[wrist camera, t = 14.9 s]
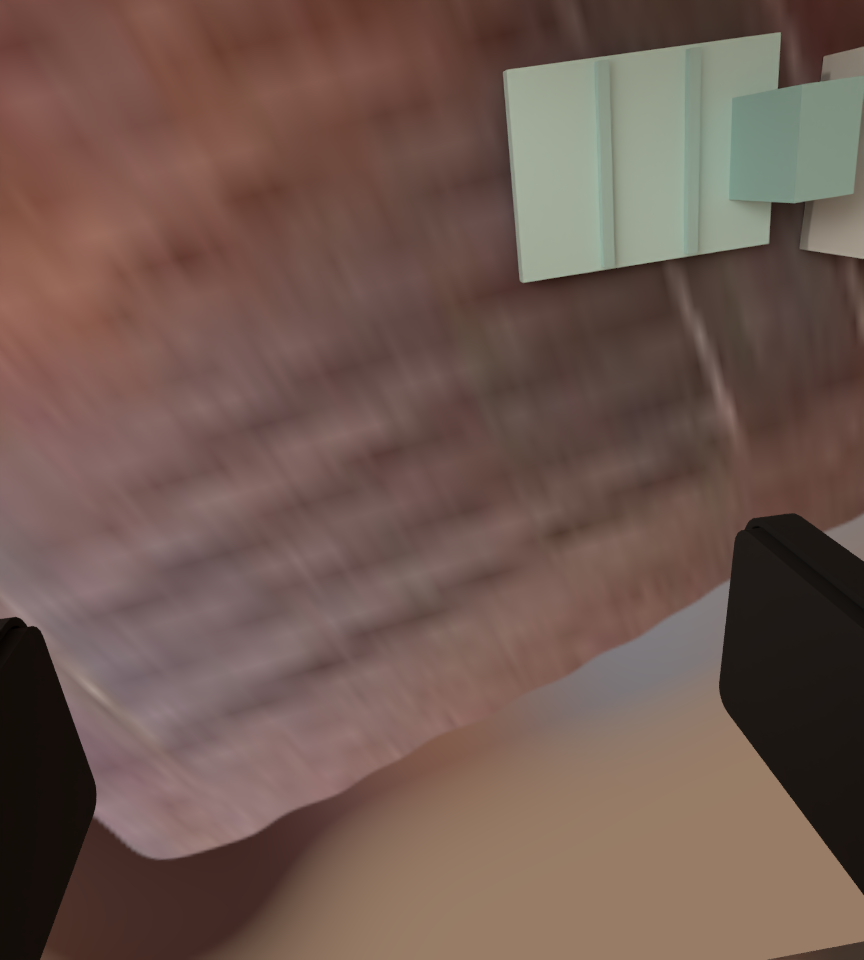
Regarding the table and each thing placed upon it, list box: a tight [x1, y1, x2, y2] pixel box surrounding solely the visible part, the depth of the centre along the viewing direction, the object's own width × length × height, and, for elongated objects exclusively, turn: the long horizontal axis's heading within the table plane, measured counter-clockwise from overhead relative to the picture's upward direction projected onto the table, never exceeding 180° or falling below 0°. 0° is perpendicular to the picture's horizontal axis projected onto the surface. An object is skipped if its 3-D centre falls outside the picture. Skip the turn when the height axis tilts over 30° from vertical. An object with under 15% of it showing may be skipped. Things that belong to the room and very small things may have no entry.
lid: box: [503, 32, 864, 283], centre depth 36 cm, size 10×15×8 cm
